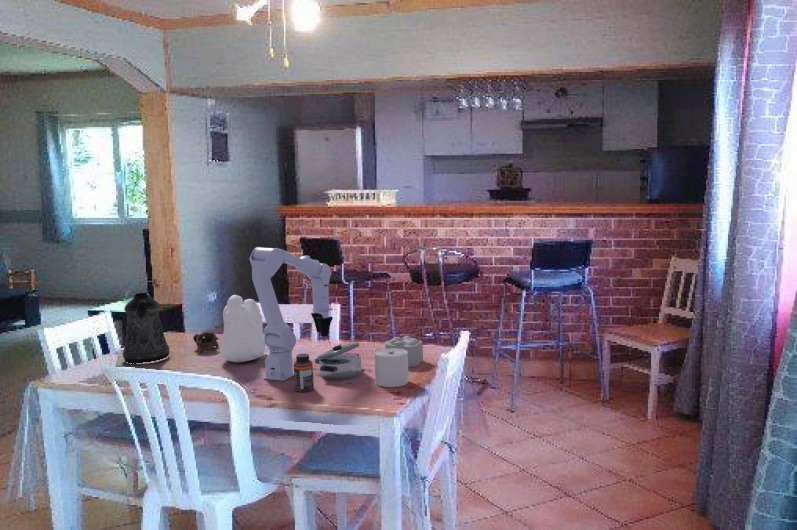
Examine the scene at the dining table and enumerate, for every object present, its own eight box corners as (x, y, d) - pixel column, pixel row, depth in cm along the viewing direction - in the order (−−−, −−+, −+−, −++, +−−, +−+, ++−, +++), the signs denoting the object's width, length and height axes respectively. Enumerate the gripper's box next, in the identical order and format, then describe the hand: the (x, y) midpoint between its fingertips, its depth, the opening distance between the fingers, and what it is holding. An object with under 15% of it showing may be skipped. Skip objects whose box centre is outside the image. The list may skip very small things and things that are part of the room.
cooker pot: (346, 383, 230) (345, 368, 230) (303, 379, 237) (303, 364, 236) (371, 367, 248) (370, 353, 247) (330, 364, 254) (330, 350, 253)
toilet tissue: (400, 389, 223) (399, 358, 222) (366, 385, 228) (364, 354, 227) (414, 379, 233) (413, 349, 231) (381, 376, 238) (379, 346, 236)
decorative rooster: (246, 369, 251) (242, 299, 247) (210, 365, 257) (205, 297, 254) (286, 351, 273) (283, 287, 270) (252, 348, 280) (248, 285, 276)
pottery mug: (226, 348, 282) (222, 333, 277) (210, 364, 276) (207, 349, 271) (202, 339, 287) (198, 324, 282) (186, 354, 280) (182, 339, 275)
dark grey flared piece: (157, 351, 280) (152, 288, 276) (181, 359, 266) (176, 293, 263) (115, 360, 269) (110, 294, 265) (139, 369, 255) (133, 300, 251)
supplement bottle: (293, 388, 227) (291, 353, 226) (311, 385, 229) (309, 351, 228) (297, 393, 222) (295, 358, 220) (316, 391, 224) (314, 355, 222)
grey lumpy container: (414, 367, 246) (414, 343, 245) (380, 364, 251) (379, 340, 250) (425, 359, 255) (424, 336, 254) (392, 357, 260) (391, 333, 259)
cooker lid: (347, 353, 231) (344, 346, 231) (309, 363, 237) (307, 356, 237) (366, 342, 244) (364, 335, 244) (330, 352, 251) (328, 346, 251)
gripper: (336, 299, 248) (338, 337, 250) (327, 292, 262) (328, 328, 264) (316, 300, 246) (318, 339, 248) (308, 294, 260) (309, 330, 262)
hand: (322, 334), depth 256 cm, fingers open, 7 cm apart
